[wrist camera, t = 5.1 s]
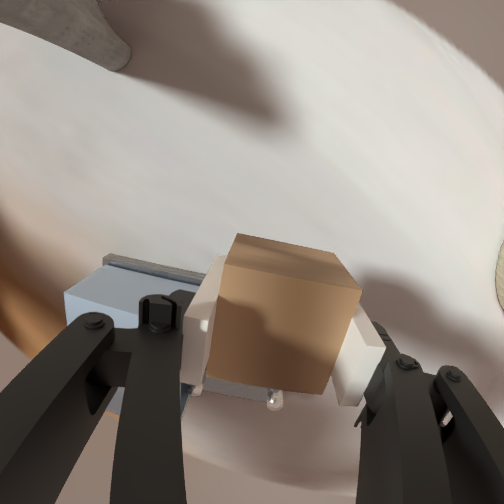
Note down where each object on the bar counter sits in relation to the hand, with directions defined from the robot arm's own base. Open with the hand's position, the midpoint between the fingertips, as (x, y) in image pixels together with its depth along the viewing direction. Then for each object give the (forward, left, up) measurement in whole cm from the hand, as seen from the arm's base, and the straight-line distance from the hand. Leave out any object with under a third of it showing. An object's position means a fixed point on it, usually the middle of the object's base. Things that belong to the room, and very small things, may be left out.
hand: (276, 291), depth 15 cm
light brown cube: (0, 0, 0) cm, 0 cm away
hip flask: (-23, +20, -12) cm, 33 cm away
